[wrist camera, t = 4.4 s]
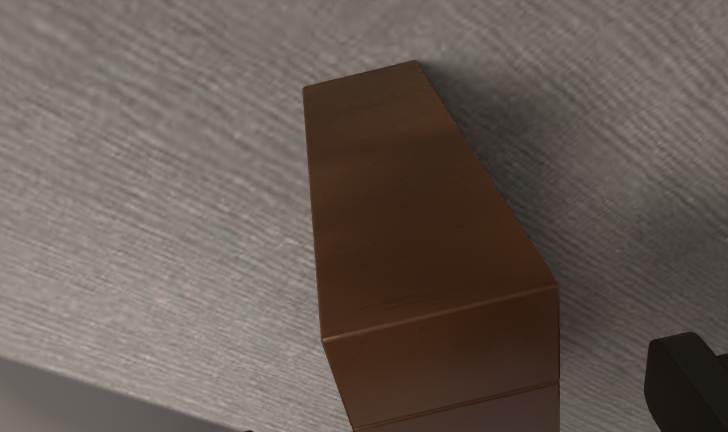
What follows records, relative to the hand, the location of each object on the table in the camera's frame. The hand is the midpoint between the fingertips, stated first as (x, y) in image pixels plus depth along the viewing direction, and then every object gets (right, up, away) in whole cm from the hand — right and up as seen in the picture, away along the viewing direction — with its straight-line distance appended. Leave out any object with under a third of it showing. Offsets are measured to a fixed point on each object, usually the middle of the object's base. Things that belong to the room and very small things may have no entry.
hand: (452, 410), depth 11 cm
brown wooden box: (-1, +3, +6) cm, 7 cm away
